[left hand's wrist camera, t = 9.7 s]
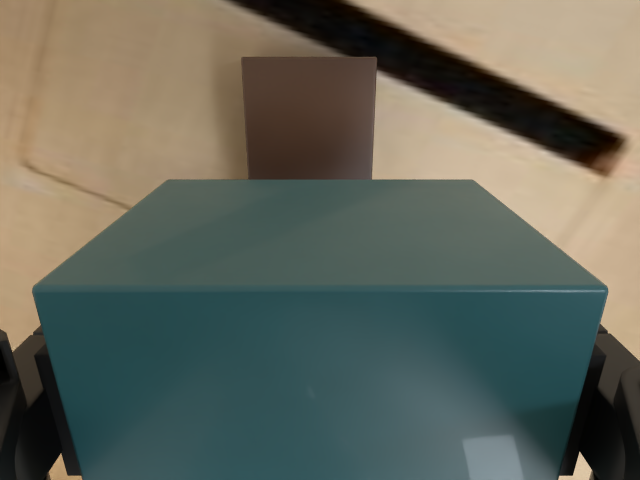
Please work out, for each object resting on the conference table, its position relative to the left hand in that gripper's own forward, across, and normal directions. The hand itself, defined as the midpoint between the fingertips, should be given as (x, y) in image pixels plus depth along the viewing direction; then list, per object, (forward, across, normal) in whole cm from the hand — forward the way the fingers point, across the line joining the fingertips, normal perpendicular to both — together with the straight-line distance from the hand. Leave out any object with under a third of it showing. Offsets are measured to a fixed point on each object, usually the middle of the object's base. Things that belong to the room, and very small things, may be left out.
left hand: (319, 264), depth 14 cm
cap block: (-1, 0, 0) cm, 1 cm away
